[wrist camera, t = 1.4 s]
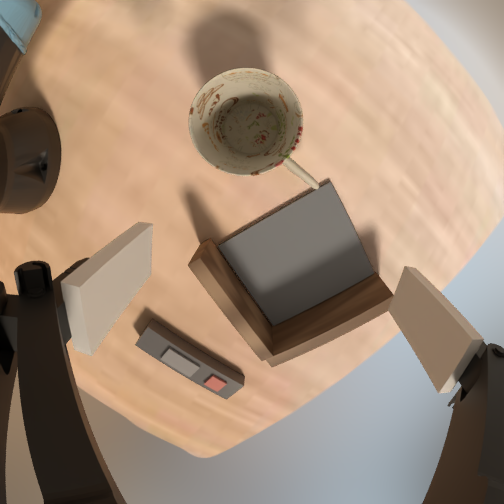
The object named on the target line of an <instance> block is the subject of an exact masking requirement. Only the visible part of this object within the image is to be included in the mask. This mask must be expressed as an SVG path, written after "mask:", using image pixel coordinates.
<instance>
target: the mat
mask: <svg viewBox="0 0 504 504" xmlns="http://www.w3.org/2000/svg"><path fill="white" fill-rule="evenodd" d="M218 247H219V249H220V250H221V252H222V253H223V255H224V256H225V257H226V259H227V260H228V262H229V263H230V265H231V266H232V268H233V269H234V271H235V272H236V273H237V275H238V276H239V278H240V279H241V281H242V282H243V284H244V285H245V286H246V288H247V289H248V291H249V292H250V294H251V295H252V296H253V298H254V299H255V301H256V302H257V304H258V305H259V306H260V308H261V309H262V311H263V312H264V313H265V315H266V316H267V318H268V319H269V321H270V322H271V323H272V325H273V326H275V325H277V324H279V323H281V322H283V321H285V320H287V319H289V318H291V317H293V316H295V315H297V314H299V313H301V312H303V311H305V310H307V309H309V308H311V307H313V306H315V305H317V304H319V303H321V302H323V301H325V300H327V299H329V298H330V297H332V296H334V295H336V294H338V293H340V292H342V291H344V290H345V289H347V288H349V287H351V286H353V285H355V284H356V283H358V282H360V281H362V280H364V279H365V278H367V277H369V276H371V275H372V274H374V271H373V269H372V267H371V264H370V262H369V260H368V258H367V255H366V253H365V251H364V249H363V246H362V244H361V242H360V240H359V238H358V236H357V233H356V231H355V229H354V227H353V225H352V223H351V221H350V219H349V217H348V215H347V213H346V211H345V209H344V207H343V205H342V203H341V201H340V199H339V197H338V195H337V193H336V191H335V189H334V187H333V185H332V184H331V182H328V183H326V184H325V185H323V186H321V187H319V188H318V189H316V190H314V191H312V192H310V193H308V194H307V195H305V196H303V197H301V198H300V199H298V200H296V201H294V202H293V203H291V204H289V205H287V206H286V207H284V208H282V209H280V210H279V211H277V212H275V213H273V214H272V215H270V216H268V217H266V218H265V219H263V220H261V221H259V222H258V223H256V224H254V225H252V226H251V227H249V228H247V229H246V230H244V231H242V232H240V233H239V234H237V235H235V236H234V237H232V238H230V239H228V240H227V241H225V242H223V243H222V244H220V245H218Z"/></svg>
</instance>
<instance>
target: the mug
mask: <svg viewBox="0 0 504 504" xmlns="http://www.w3.org/2000/svg"><path fill="white" fill-rule="evenodd" d="M302 130H303V113H302V108H301V105H300V102H299V100H298V98H297V96H296V94H295V93H294V91H293V90H292V89H291V88H290V86H289V85H288V84H287V83H286V82H285V81H283V80H282V79H281V78H279V77H278V76H276V75H274V74H272V73H270V72H268V71H265V70H261V69H257V68H236V69H231V70H228V71H225V72H223V73H220V74H218V75H217V76H215V77H213V78H212V79H211V80H209V81H208V82H207V83H206V84H205V85H204V86H203V87H202V88H201V89H200V91H199V92H198V93H197V95H196V97H195V99H194V101H193V103H192V105H191V109H190V113H189V131H190V136H191V139H192V142H193V144H194V146H195V148H196V150H197V151H198V153H199V154H200V155H201V156H202V158H203V159H204V160H205V161H206V162H208V163H209V164H210V165H211V166H213V167H215V168H216V169H218V170H220V171H222V172H225V173H228V174H231V175H236V176H254V175H259V174H263V173H266V172H269V171H271V170H273V169H275V168H276V167H278V166H280V165H281V164H283V165H284V166H285V167H286V168H287V169H288V170H290V171H291V172H292V173H294V174H295V175H296V176H298V177H299V178H301V179H302V180H304V181H305V182H306V183H307V184H308V185H309V186H311V187H312V188H313V189H318V188H319V184H318V182H317V181H316V180H315V179H314V178H313V177H312V176H311V175H310V174H309V173H307V172H306V171H305V170H304V169H303V168H302V167H301V166H299V165H298V164H297V163H296V162H295V161H294V160H292V159H291V158H290V156H291V154H292V153H293V152H294V150H295V149H296V147H297V145H298V143H299V141H300V138H301V134H302Z"/></svg>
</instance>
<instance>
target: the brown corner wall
mask: <svg viewBox="0 0 504 504" xmlns="http://www.w3.org/2000/svg"><path fill="white" fill-rule="evenodd" d="M188 266H189V268H190V269H191V271H192V272H193V273H194V275H195V276H196V277H197V279H198V280H199V281H200V283H201V284H202V285H203V287H204V288H205V290H206V291H207V292H208V294H209V295H210V296H211V298H212V299H213V300H214V301H215V303H216V304H217V305H218V307H219V308H220V309H221V311H222V312H223V313H224V315H225V316H226V317H227V318H228V320H229V321H230V322H231V324H232V325H233V326H234V327H235V329H236V330H237V331H238V332H239V334H240V335H241V336H242V337H243V339H244V340H245V341H246V342H247V344H248V345H249V346H250V347H251V349H252V350H253V351H254V352H255V354H256V355H257V356H258V357H259V358H260V360H261V361H263V360H266V361H267V362H268V363H269V364H270V366H271V367H274V366H277V365H279V364H281V363H284V362H286V361H288V360H291V359H293V358H295V357H298V356H300V355H302V354H304V353H306V352H309V351H311V350H313V349H315V348H317V347H319V346H321V345H324V344H326V343H328V342H330V341H332V340H334V339H336V338H338V337H340V336H342V335H344V334H346V333H348V332H350V331H352V330H354V329H356V328H357V327H359V326H361V325H363V324H365V323H367V322H369V321H371V320H372V319H374V318H376V317H378V316H380V315H381V314H383V313H385V312H387V311H388V309H389V306H390V304H391V301H392V299H393V296H394V295H393V294H392V292H391V291H390V290H389V288H388V287H387V286H386V284H385V283H384V282H383V281H382V279H381V278H380V277H379V275H378V274H377V273H376V272H375V273H374V274H372V275H371V276H369V277H367V278H365V279H364V280H362V281H360V282H358V283H356V284H355V285H353V286H351V287H349V288H347V289H345V290H344V291H342V292H340V293H338V294H336V295H334V296H332V297H330V298H329V299H327V300H325V301H323V302H321V303H319V304H317V305H315V306H313V307H311V308H309V309H307V310H305V311H303V312H301V313H299V314H297V315H295V316H293V317H291V318H289V319H287V320H285V321H283V322H281V323H279V324H277V325H275V326H272V325H271V324H270V323H269V321H268V320H267V318H266V317H265V316H264V314H263V313H262V311H261V310H260V309H259V307H258V306H257V304H256V303H255V302H254V300H253V299H252V297H251V296H250V294H249V293H248V292H247V290H246V289H245V287H244V286H243V284H242V283H241V282H240V280H239V279H238V277H237V276H236V274H235V273H234V271H233V270H232V269H231V267H230V266H229V264H228V263H227V261H226V260H225V258H224V257H223V256H222V254H221V253H220V251H219V250H218V248H217V247H216V245H215V244H214V242H213V241H212V239H211V238H210V239H208V240H207V241H205V242H203V243H202V244H200V245H199V247H198V249H197V250H196V252H195V254H194V256H193V257H192V259H191V261H190V262H189V264H188Z"/></svg>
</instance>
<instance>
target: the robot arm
mask: <svg viewBox="0 0 504 504" xmlns="http://www.w3.org/2000/svg"><path fill="white" fill-rule="evenodd" d="M41 18H42V10H41V7H40V5H39V4H38V3H37V2H36V1H35V0H0V105H1V102H2V100H3V97H4V95H5V92H6V90H7V88H8V85H9V83H10V81H11V78H12V76H13V74H14V72H15V70H16V68H17V66H18V64H19V62H20V60H21V58H22V56H23V55H25V53H26V52H27V46H28V44H29V42H30V40H31V38H32V36H33V34H34V33H35V31H36V29H37V27H38V25H39V24H40V21H41ZM60 162H61V148H60V140H59V135H58V132H57V129H56V126H55V124H54V122H53V120H52V119H51V117H50V116H49V115H48V114H47V113H46V112H45V111H43V110H41V109H39V108H34V107H22V108H18V109H15V110H13V111H11V112H9V113H6V114H4V115H2V116H0V213H15V214H24V213H28V212H30V211H33V210H35V209H37V208H39V207H41V206H42V205H43V204H44V203H45V202H46V201H47V200H48V199H49V197H50V196H51V194H52V192H53V190H54V188H55V185H56V182H57V179H58V175H59V170H60ZM152 230H153V224H150V223H144V222H138V223H136V224H135V225H133V226H132V227H131V228H129V229H128V230H127V231H125V232H124V233H122V234H121V235H120V236H118V237H117V238H116V239H114V240H113V241H112V242H110V243H109V244H108V245H106V246H105V247H104V248H102V249H101V250H100V251H98V252H97V253H96V254H95V255H93V256H92V257H91V258H85V259H82V260H79V261H77V262H76V263H74V264H73V265H72V266H71V267H70V268H68V269H67V270H65V271H64V273H62V274H60V275H59V276H58V277H57V278H55V279H54V280H53V281H52V276H51V269H50V266H49V264H48V263H46V262H43V261H30V262H26V263H24V264H21V265H20V266H18V267H17V268H16V269H15V271H14V275H15V280H16V285H17V290H18V294H19V295H11V294H6V290H5V286H4V283H3V282H1V281H0V504H7V503H6V484H5V462H6V461H5V460H6V440H7V430H8V420H9V411H10V405H11V399H12V393H13V387H14V382H15V377H16V372H17V368H18V378H19V389H20V399H21V406H22V413H23V420H24V426H25V431H26V436H27V441H28V446H29V450H30V454H31V458H32V462H33V466H34V470H35V473H36V476H37V480H38V483H39V486H40V489H41V492H42V495H43V499H44V504H127V503H126V502H125V500H124V498H123V496H122V494H121V493H120V491H119V489H118V487H117V485H116V483H115V481H114V479H113V478H112V475H111V473H110V471H109V469H108V467H107V465H106V463H105V461H104V459H103V456H102V454H101V452H100V449H99V447H98V445H97V442H96V440H95V437H94V435H93V432H92V430H91V427H90V424H89V422H88V419H87V416H86V413H85V410H84V407H83V404H82V401H81V398H80V395H79V392H78V388H77V385H76V382H75V378H74V374H73V371H72V367H71V363H70V359H69V355H68V351H67V347H66V343H67V342H68V341H69V340H70V338H72V342H73V346H74V350H76V351H78V352H81V353H84V354H87V355H90V356H93V354H94V353H95V351H96V350H97V348H98V347H99V345H100V344H101V342H102V341H103V339H104V338H105V337H106V335H107V334H108V332H109V331H110V329H111V328H112V327H113V325H114V324H115V322H116V321H117V320H118V318H119V317H120V315H121V314H122V313H123V311H124V310H125V309H126V307H127V306H128V304H129V303H130V302H131V300H132V299H133V298H134V296H135V295H136V294H137V292H138V291H139V290H140V288H141V287H142V286H143V284H144V283H145V282H146V280H147V279H148V278H149V277H150V275H151V256H152ZM388 311H389V312H390V314H391V315H392V317H393V318H394V320H395V322H396V323H397V325H398V326H399V328H400V329H401V331H402V333H403V334H404V336H405V337H406V339H407V341H408V342H409V344H410V345H411V347H412V349H413V350H414V352H415V353H416V355H417V357H418V359H419V360H420V362H421V363H422V365H423V367H424V369H425V371H426V372H427V374H428V376H429V378H430V379H431V381H432V383H433V385H434V386H435V388H436V390H437V392H438V393H445V392H451V390H452V389H453V388H454V386H455V385H456V383H457V382H458V381H459V382H460V384H461V388H460V389H459V390H458V392H457V393H456V394H455V396H454V397H453V399H452V400H451V401H450V402H449V404H448V406H450V405H451V404H452V403H455V404H454V406H453V407H452V408H453V413H452V418H451V422H450V426H449V430H448V433H447V437H446V440H445V444H444V447H443V450H442V454H441V457H440V460H439V463H438V466H437V468H436V471H435V474H434V477H433V479H432V482H431V484H430V487H429V490H428V492H427V494H426V497H425V499H424V501H423V503H422V504H504V349H503V348H502V347H501V346H499V345H496V344H492V343H490V344H488V345H486V344H485V343H484V341H483V340H484V339H483V338H482V336H481V335H480V334H479V333H478V332H477V331H476V330H475V328H473V326H472V325H471V324H470V323H469V322H468V321H467V320H466V318H465V317H464V316H463V315H462V314H461V313H460V312H459V311H458V310H457V309H456V308H455V307H454V306H453V305H452V304H451V303H450V302H449V300H447V298H445V296H444V295H443V294H442V293H441V292H440V291H439V290H438V289H437V288H436V287H435V286H434V285H433V284H432V283H431V282H430V281H429V280H428V279H427V278H426V277H424V276H423V275H422V274H421V273H420V272H419V271H418V270H417V269H416V268H413V267H407V266H405V267H404V270H403V273H402V275H401V278H400V281H399V283H398V286H397V289H396V291H395V294H394V296H393V299H392V301H391V304H390V306H389V309H388Z"/></svg>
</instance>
